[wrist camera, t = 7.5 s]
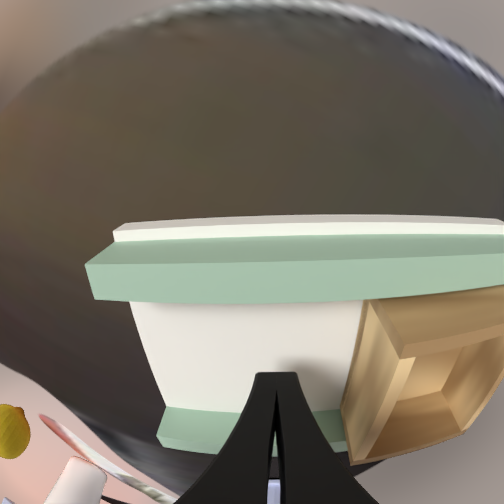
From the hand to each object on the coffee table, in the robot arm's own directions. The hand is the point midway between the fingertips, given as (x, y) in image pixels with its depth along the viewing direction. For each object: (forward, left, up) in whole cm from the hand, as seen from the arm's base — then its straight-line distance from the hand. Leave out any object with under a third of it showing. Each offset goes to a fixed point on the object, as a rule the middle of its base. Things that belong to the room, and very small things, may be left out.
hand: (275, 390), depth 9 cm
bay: (0, -2, -3) cm, 4 cm away
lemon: (-14, +28, -3) cm, 31 cm away
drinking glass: (-24, +23, -3) cm, 33 cm away
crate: (0, -6, -2) cm, 6 cm away
